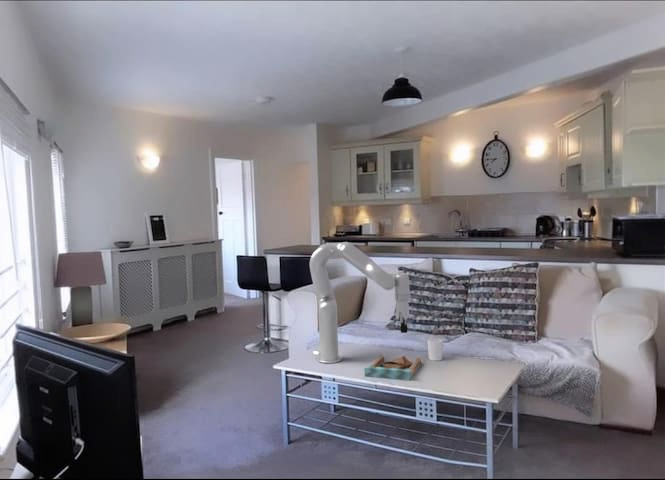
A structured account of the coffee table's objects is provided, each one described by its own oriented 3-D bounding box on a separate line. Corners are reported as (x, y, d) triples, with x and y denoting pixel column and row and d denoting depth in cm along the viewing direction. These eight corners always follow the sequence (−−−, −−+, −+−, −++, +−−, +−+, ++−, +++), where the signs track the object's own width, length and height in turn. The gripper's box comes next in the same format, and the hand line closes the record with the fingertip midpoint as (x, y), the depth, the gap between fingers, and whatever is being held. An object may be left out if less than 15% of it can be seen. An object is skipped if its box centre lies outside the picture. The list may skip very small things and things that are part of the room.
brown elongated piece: (394, 373, 230) (388, 360, 232) (384, 378, 235) (378, 365, 237) (416, 364, 243) (410, 352, 245) (407, 369, 247) (401, 357, 249)
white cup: (443, 361, 247) (443, 341, 246) (427, 361, 248) (427, 341, 248) (443, 357, 255) (442, 337, 254) (427, 356, 256) (427, 337, 256)
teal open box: (364, 376, 228) (364, 367, 228) (380, 360, 253) (380, 352, 253) (409, 380, 220) (409, 371, 220) (421, 363, 245) (421, 355, 245)
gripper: (398, 294, 262) (400, 328, 263) (391, 299, 249) (393, 335, 249) (412, 294, 260) (414, 329, 260) (406, 299, 246) (408, 336, 247)
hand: (404, 332), depth 255 cm, fingers closed
